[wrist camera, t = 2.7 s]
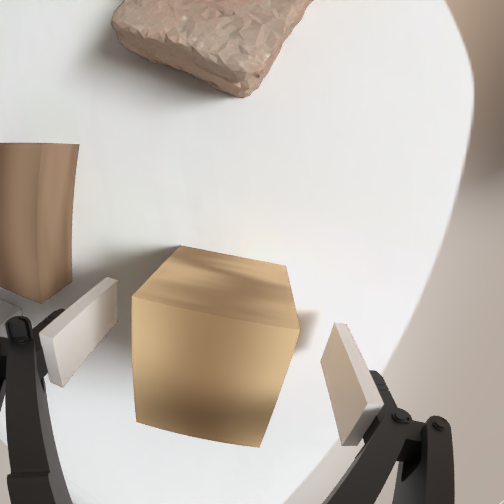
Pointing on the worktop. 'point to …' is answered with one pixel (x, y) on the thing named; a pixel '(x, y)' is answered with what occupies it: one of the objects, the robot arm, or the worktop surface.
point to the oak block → (212, 345)
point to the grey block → (7, 315)
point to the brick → (210, 37)
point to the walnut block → (36, 217)
